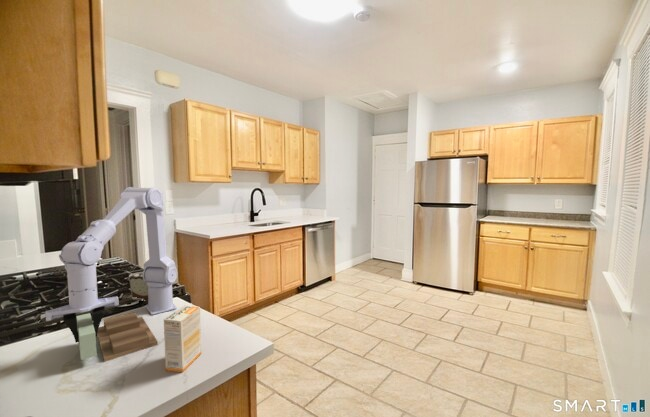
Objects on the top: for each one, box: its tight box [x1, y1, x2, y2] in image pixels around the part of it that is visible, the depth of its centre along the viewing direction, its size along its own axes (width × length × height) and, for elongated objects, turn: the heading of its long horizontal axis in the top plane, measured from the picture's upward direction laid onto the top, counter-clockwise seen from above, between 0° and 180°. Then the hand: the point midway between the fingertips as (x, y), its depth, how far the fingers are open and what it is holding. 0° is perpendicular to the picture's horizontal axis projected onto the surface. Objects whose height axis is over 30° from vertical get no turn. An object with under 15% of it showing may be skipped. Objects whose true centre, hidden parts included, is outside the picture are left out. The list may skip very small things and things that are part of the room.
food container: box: [127, 271, 149, 301], centre depth 114 cm, size 12×6×10 cm, turn 84°
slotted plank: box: [96, 312, 158, 362], centre depth 86 cm, size 20×12×3 cm, turn 42°
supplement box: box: [163, 305, 202, 373], centre depth 75 cm, size 8×5×13 cm, turn 171°
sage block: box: [76, 312, 97, 361], centre depth 77 cm, size 14×3×6 cm, turn 42°
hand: (86, 338), depth 78 cm, fingers closed on sage block, 3 cm apart
